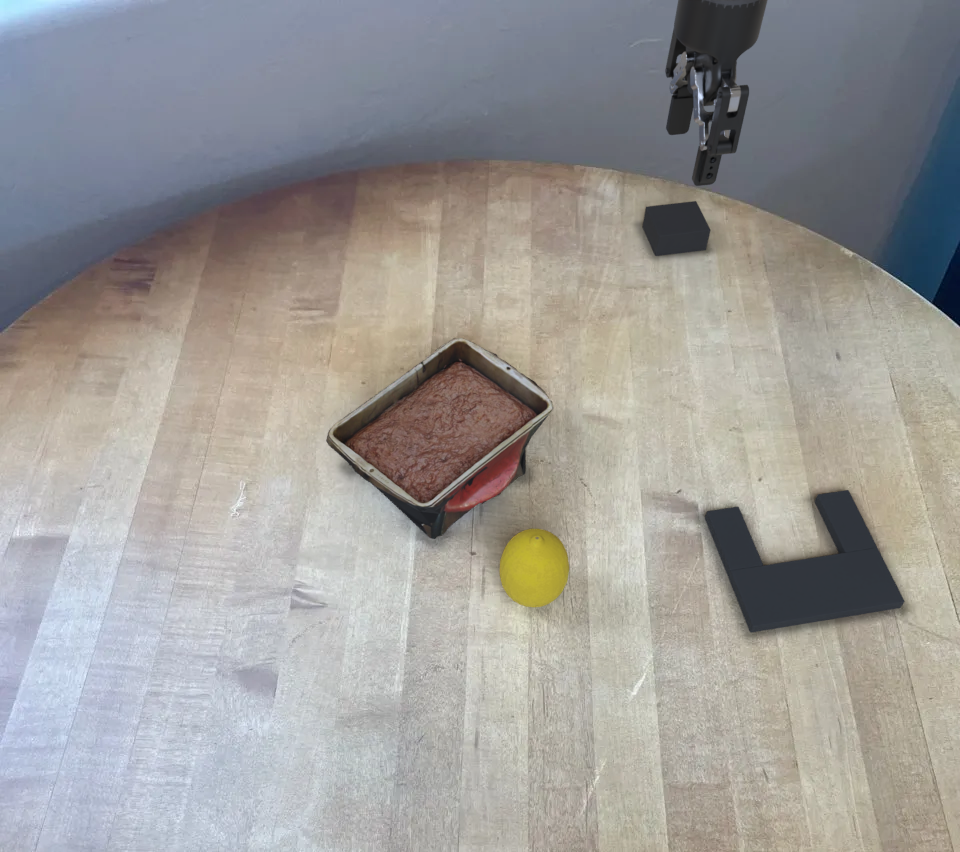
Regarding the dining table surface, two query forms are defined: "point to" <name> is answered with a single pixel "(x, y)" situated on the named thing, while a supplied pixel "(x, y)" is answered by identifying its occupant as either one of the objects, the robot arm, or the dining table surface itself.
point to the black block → (676, 228)
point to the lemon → (534, 568)
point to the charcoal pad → (806, 571)
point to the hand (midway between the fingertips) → (689, 157)
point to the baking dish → (444, 434)
